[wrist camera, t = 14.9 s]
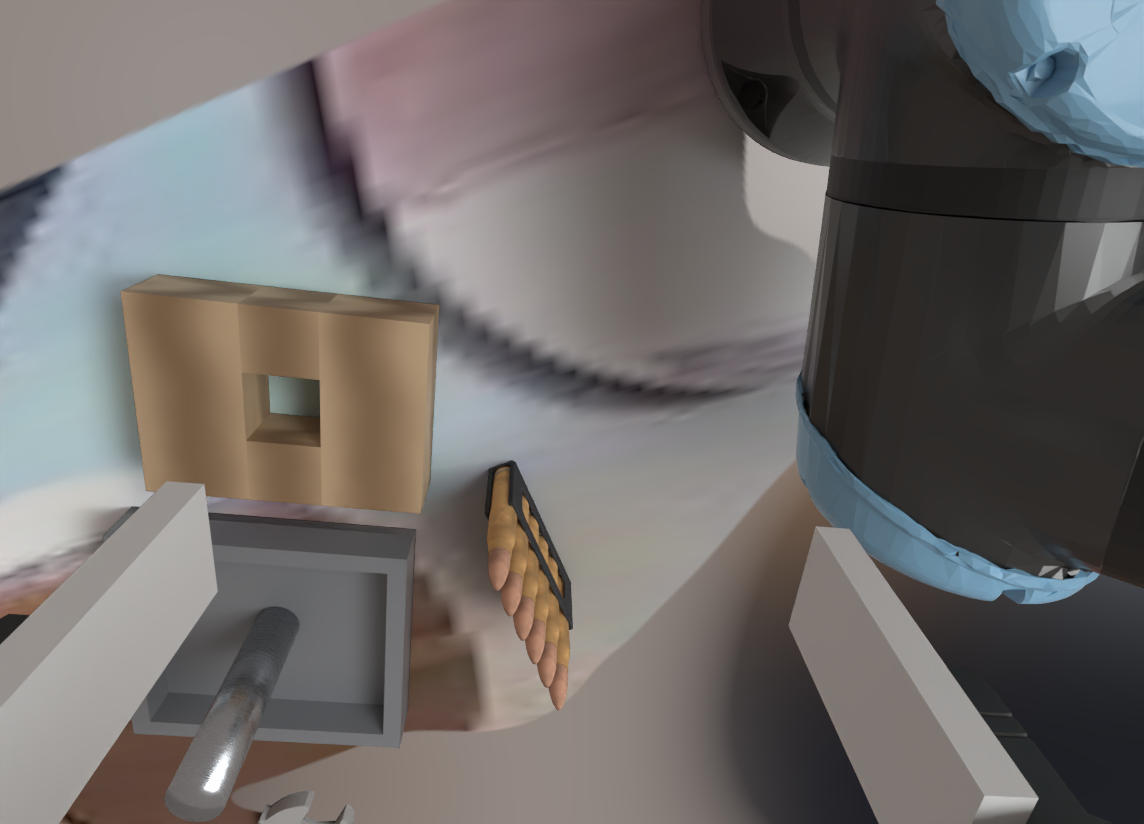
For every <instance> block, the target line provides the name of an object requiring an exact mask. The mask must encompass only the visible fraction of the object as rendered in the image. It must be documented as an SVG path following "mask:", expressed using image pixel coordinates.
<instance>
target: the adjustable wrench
mask: <svg viewBox="0 0 1144 824" xmlns="http://www.w3.org/2000/svg"><path fill="white" fill-rule="evenodd" d="M314 794H315V792H312V791H301V792H296V793H293V794H289V795H287V796H285V797H283V798H281V799H280V800H278V801H277V802H275V803H274V804H273V805H269V804H266V806H265V809H264V811H263V813H262V814H261V816H260V818H259V821H258V824H353V823H354V811H353V808H352V807H351V806H350V805H348V804H347V805H346V806H345V807H344V809H343V811H342V812H341V814H340V815H339V817H338V818H337V820H336V821H315V820H313V819H310V818H307V817H304V816H305V815H306V813H307V812H308V810H309V808H310V806H311V803H312V800H313V797H314Z"/></svg>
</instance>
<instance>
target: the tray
mask: <svg viewBox="0 0 1144 824" xmlns="http://www.w3.org/2000/svg"><path fill="white" fill-rule="evenodd" d="M139 508H140V507H132V508H131V509H130V510H129V511H128V512H127V513H126V514H125V515H124V516H123V517H122V518H121V519H120V520H119V521H117V522H116V523H115V524H114V525H113V526H112V527H111V528H110V529H109V530H108V531H107V532H106V533H105V534H104V535H103V536H102V537H103V543H104V542H105V541H106V540H107V539H108V538H109V537H110V536H111V535H112V534H113V533H114V532H116V531H117V530H118V529H119V528H120V527H121V526H122V525H123V524H124V523H125V522H126V521H127V520H128V519H129V518H130V517H131V516H132V515H133V514H134V513H135V512H136V511H137V510H138V509H139ZM208 517H209V525H210V533H211V541H212V549H213V557H214V566H215V574H216V582H217V590H218V592H217V593H216V595H215V596H214V598H213V599H212V600H211V602H210V603H209V605H208V606H207V608H206V609H205V611H204V612H203V614H202V615H201V617H200V618H199V619H198V621H197V622H196V624H195V625H194V627H193V628H192V630H191V631H190V633H189V634H188V636H187V637H186V638H185V640H184V641H183V643H182V644H181V646H180V647H179V649H178V650H177V652H176V653H175V655H174V656H173V657H172V659H171V660H170V662H169V663H168V665H167V666H166V668H165V669H164V671H163V672H162V674H161V675H160V677H159V678H158V679H157V681H156V682H155V684H154V685H153V687H152V688H151V690H150V691H149V693H148V694H147V696H146V697H145V698H144V700H143V701H142V703H141V704H140V706H139V707H138V709H137V710H136V712H135V713H134V715H133V716H132V724H133V730H134V734H151V735H170V736H188V737H195V735H196V733H197V731H198V729H199V727H200V725H201V724H202V722H203V720H204V718H205V716H206V714H207V712H208V710H209V708H210V706H211V704H212V702H213V700H214V698H215V696H216V694H217V692H218V690H219V689H220V687H221V685H222V683H223V681H224V679H225V677H226V675H227V673H228V671H229V669H230V667H231V665H232V663H233V661H234V659H235V657H236V655H237V654H238V652H239V650H240V648H241V646H242V644H243V642H244V640H245V638H246V636H247V634H248V632H249V630H250V628H251V626H252V624H253V622H254V620H255V619H256V617H257V615H258V614H259V612H261V611H262V610H263V609H266V608H268V607H282V608H286V609H288V610H290V611H291V612H293V613H294V614H295V615H296V617H297V618H298V620H299V624H300V627H299V631H298V633H297V636H296V638H295V640H294V643H293V645H292V647H291V650H290V652H289V655H288V657H287V659H286V662H285V664H284V667H283V669H282V671H281V674H280V676H279V678H278V681H277V683H276V686H275V688H274V690H273V693H272V695H271V698H270V700H269V702H268V705H267V707H266V710H265V712H264V714H263V717H262V719H261V721H260V724H259V726H258V729H257V731H256V733H255V736H254V738H253V740H263V741H282V742H301V743H319V744H338V745H357V746H375V747H394V748H400V744H401V739H402V735H403V730H404V726H405V721H406V716H407V712H408V695H409V673H410V650H411V627H412V604H413V582H414V559H415V536H416V529H404V528H392V527H379V526H367V525H354V524H342V523H330V522H317V521H305V520H292V519H280V518H268V517H255V516H243V515H230V514H218V513H208Z"/></svg>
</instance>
